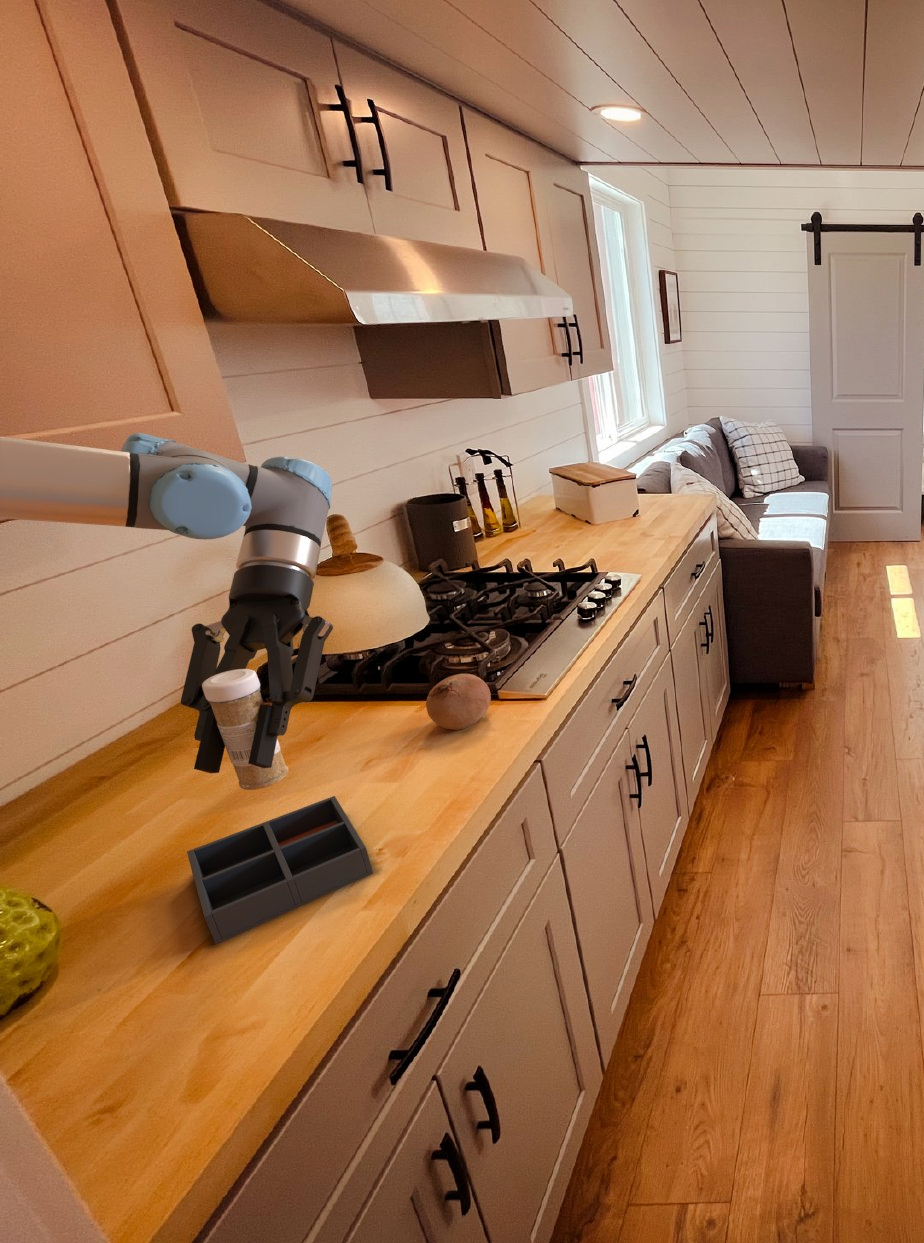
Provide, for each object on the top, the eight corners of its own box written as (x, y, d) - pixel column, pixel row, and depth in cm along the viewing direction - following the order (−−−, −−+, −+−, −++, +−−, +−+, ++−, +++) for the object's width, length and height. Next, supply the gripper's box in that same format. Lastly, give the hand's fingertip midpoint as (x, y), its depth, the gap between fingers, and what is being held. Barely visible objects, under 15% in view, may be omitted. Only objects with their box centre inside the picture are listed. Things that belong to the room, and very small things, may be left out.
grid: (215, 945, 77) (204, 917, 76) (197, 877, 86) (186, 851, 85) (373, 873, 87) (366, 847, 86) (342, 819, 97) (334, 795, 95)
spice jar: (299, 768, 84) (266, 667, 79) (267, 792, 80) (230, 687, 75) (261, 767, 84) (226, 666, 79) (227, 791, 80) (188, 686, 75)
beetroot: (455, 751, 118) (421, 718, 110) (438, 716, 123) (405, 682, 116) (509, 717, 121) (480, 683, 114) (491, 685, 127) (462, 650, 119)
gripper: (370, 584, 91) (341, 765, 82) (214, 592, 88) (165, 783, 78) (340, 557, 85) (304, 752, 75) (169, 566, 81) (110, 771, 72)
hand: (233, 767), depth 77 cm, fingers closed on spice jar, 4 cm apart
